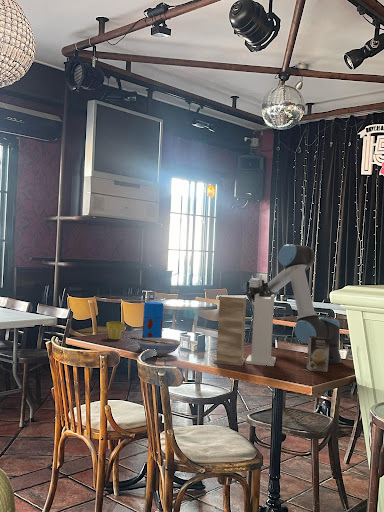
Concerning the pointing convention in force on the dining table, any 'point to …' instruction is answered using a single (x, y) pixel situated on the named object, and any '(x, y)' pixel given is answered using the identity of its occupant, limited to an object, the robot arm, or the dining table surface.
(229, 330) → the oak stand
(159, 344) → the ramen bowl
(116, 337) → the plant pot
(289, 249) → the robot arm
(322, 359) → the coffee box
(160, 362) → the dining table surface
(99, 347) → the dining table surface
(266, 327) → the post
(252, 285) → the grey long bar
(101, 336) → the dining table surface
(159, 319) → the blue carton
